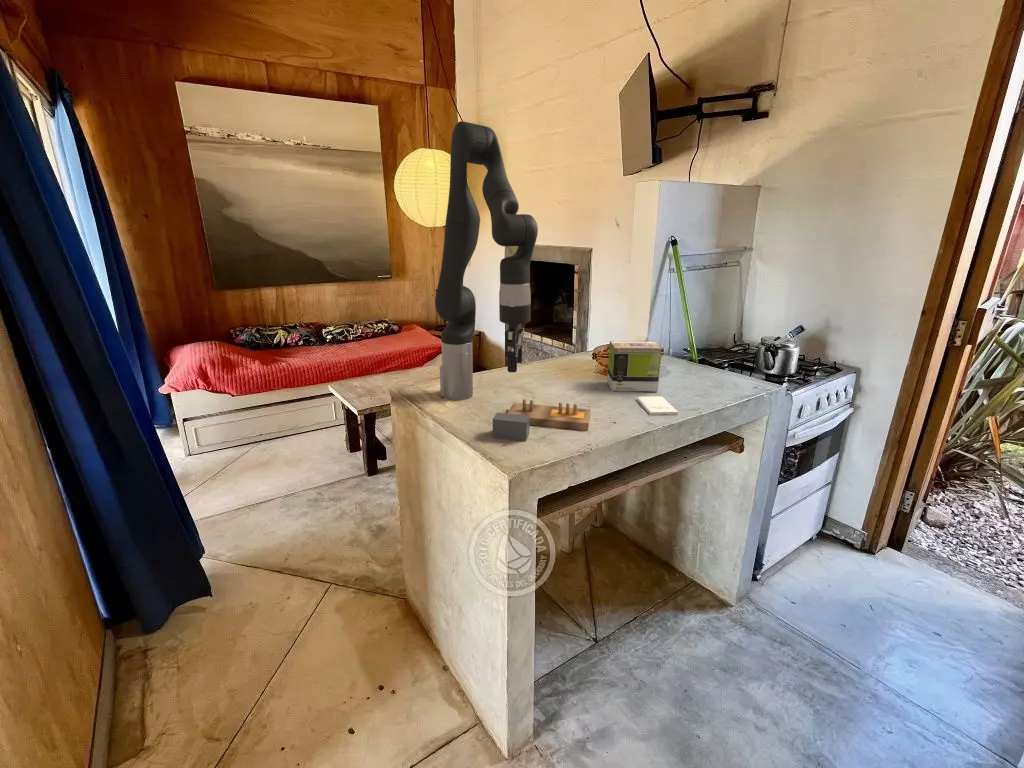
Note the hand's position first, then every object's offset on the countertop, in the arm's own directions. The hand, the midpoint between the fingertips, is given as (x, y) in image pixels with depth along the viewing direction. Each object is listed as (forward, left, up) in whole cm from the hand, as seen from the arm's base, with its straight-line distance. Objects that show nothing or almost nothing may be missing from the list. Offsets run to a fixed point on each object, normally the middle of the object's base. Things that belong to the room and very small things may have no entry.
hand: (515, 367), depth 123 cm
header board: (+8, +10, -17) cm, 21 cm away
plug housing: (0, -3, -17) cm, 18 cm away
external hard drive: (+38, +27, -18) cm, 50 cm away
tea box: (+31, +44, -18) cm, 56 cm away
